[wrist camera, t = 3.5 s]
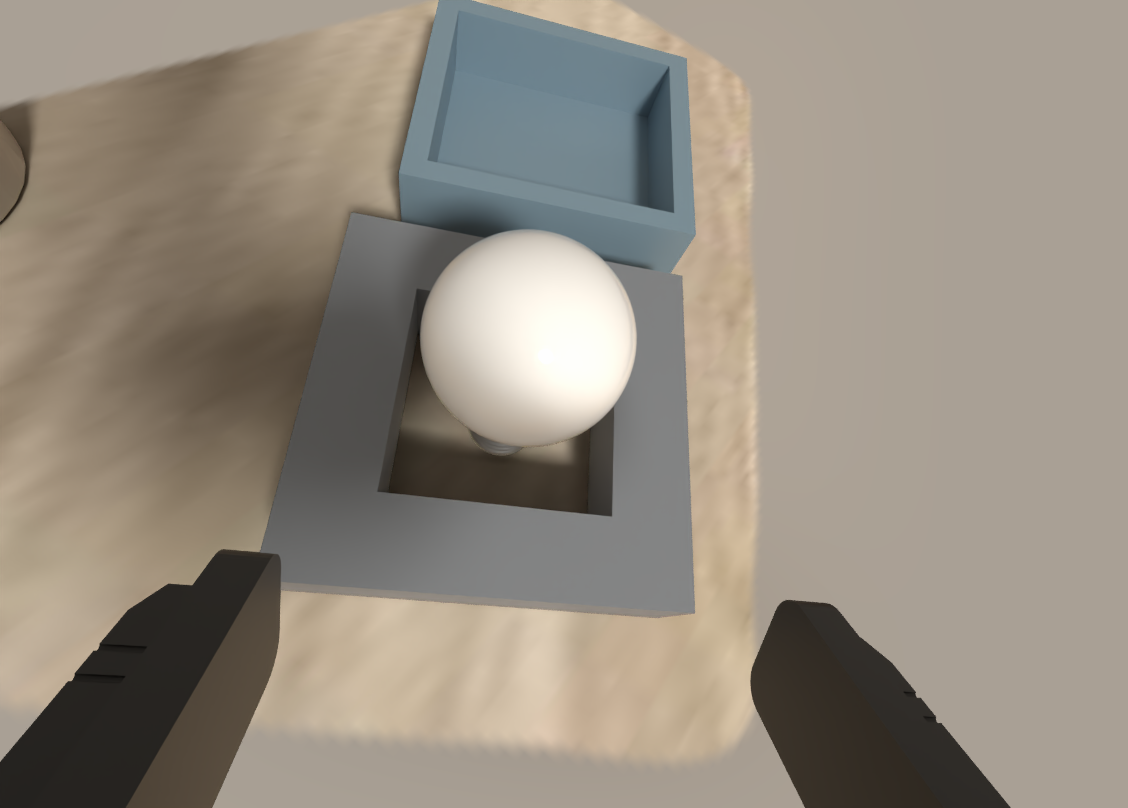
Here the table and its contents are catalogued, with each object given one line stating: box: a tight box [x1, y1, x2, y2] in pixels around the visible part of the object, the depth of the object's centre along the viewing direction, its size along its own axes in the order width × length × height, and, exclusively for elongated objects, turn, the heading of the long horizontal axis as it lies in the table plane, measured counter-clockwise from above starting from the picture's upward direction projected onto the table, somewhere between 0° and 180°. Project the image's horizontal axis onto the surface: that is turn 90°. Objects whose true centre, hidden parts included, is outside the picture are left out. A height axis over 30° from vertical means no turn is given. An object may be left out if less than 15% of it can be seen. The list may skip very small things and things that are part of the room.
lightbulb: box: [420, 229, 637, 456], centre depth 19 cm, size 6×6×11 cm
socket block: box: [260, 212, 695, 618], centre depth 22 cm, size 14×14×4 cm
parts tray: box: [399, 0, 696, 273], centre depth 28 cm, size 13×12×4 cm
